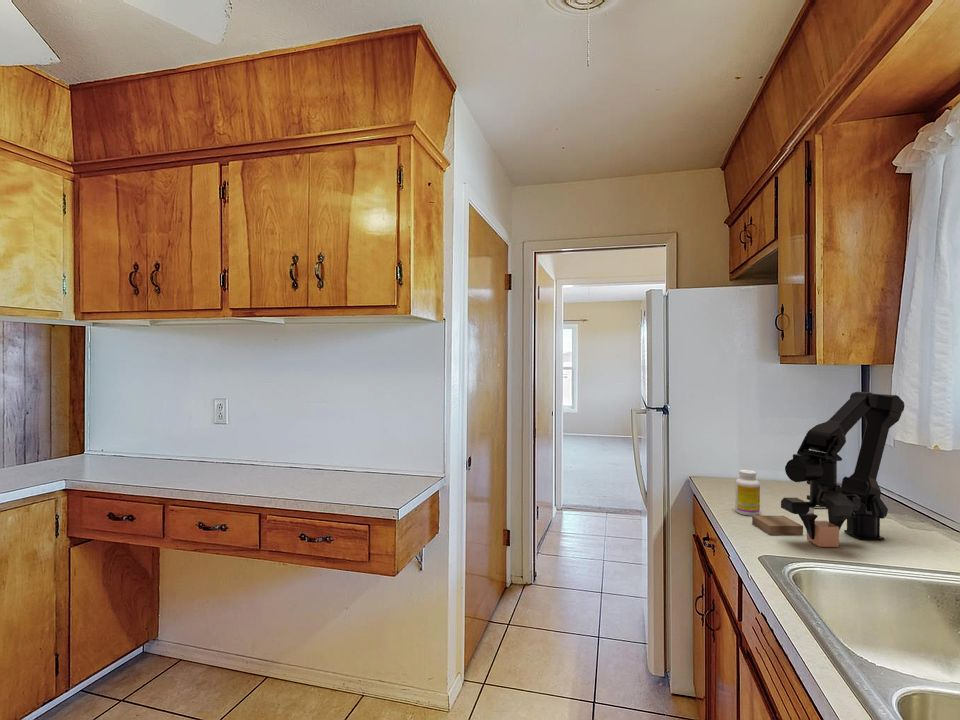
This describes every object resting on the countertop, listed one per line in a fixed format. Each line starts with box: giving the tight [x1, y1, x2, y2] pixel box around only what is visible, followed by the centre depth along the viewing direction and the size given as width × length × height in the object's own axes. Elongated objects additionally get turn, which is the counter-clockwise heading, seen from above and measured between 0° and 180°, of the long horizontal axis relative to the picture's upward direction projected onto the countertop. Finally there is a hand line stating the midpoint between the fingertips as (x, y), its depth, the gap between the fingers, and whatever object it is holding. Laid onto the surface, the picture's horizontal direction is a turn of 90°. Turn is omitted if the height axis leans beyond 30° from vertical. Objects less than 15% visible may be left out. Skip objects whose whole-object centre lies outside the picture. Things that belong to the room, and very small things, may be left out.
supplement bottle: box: [735, 469, 761, 517], centre depth 159 cm, size 7×7×13 cm
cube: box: [806, 520, 840, 548], centre depth 133 cm, size 5×5×5 cm
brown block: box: [751, 515, 804, 536], centre depth 144 cm, size 9×9×2 cm
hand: (822, 538), depth 133 cm, fingers closed on cube, 5 cm apart
